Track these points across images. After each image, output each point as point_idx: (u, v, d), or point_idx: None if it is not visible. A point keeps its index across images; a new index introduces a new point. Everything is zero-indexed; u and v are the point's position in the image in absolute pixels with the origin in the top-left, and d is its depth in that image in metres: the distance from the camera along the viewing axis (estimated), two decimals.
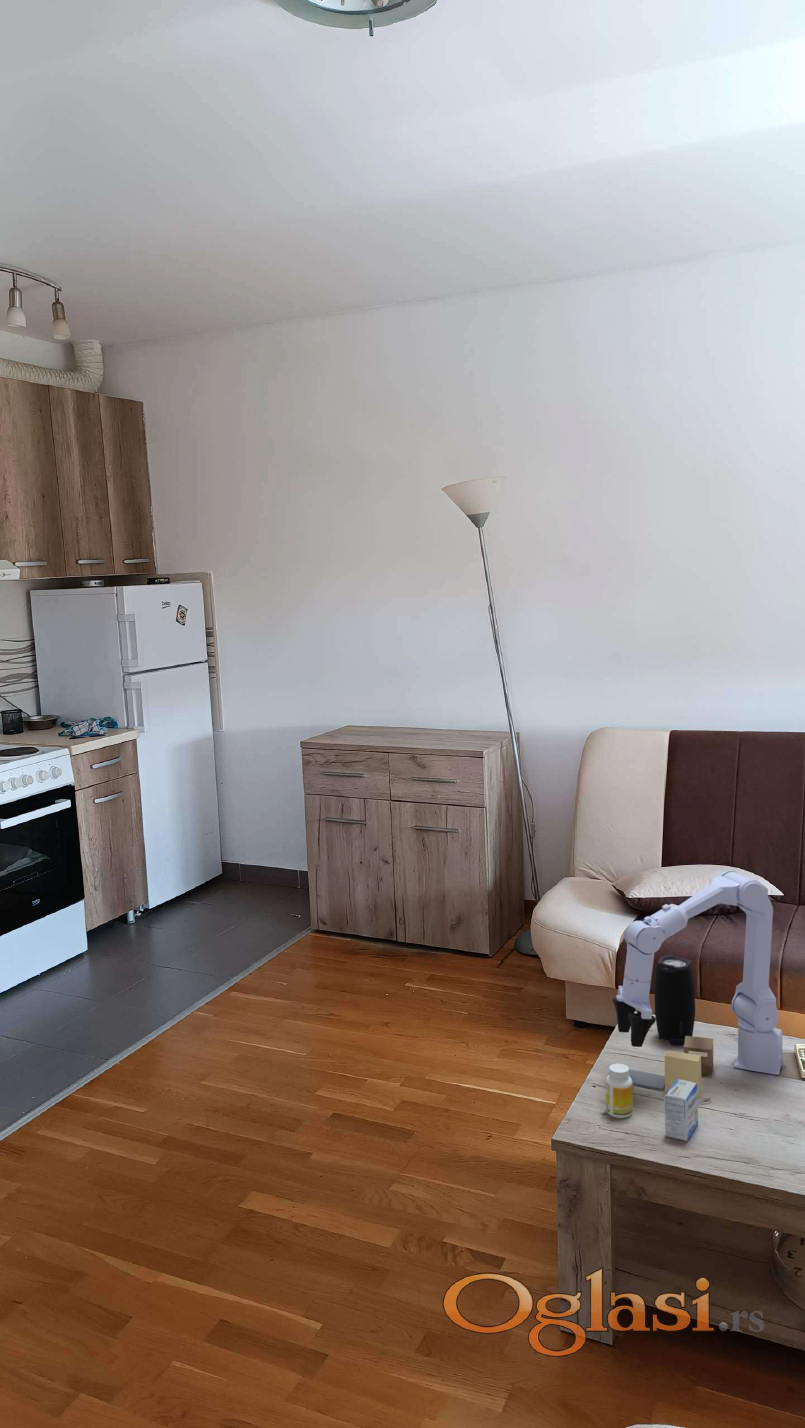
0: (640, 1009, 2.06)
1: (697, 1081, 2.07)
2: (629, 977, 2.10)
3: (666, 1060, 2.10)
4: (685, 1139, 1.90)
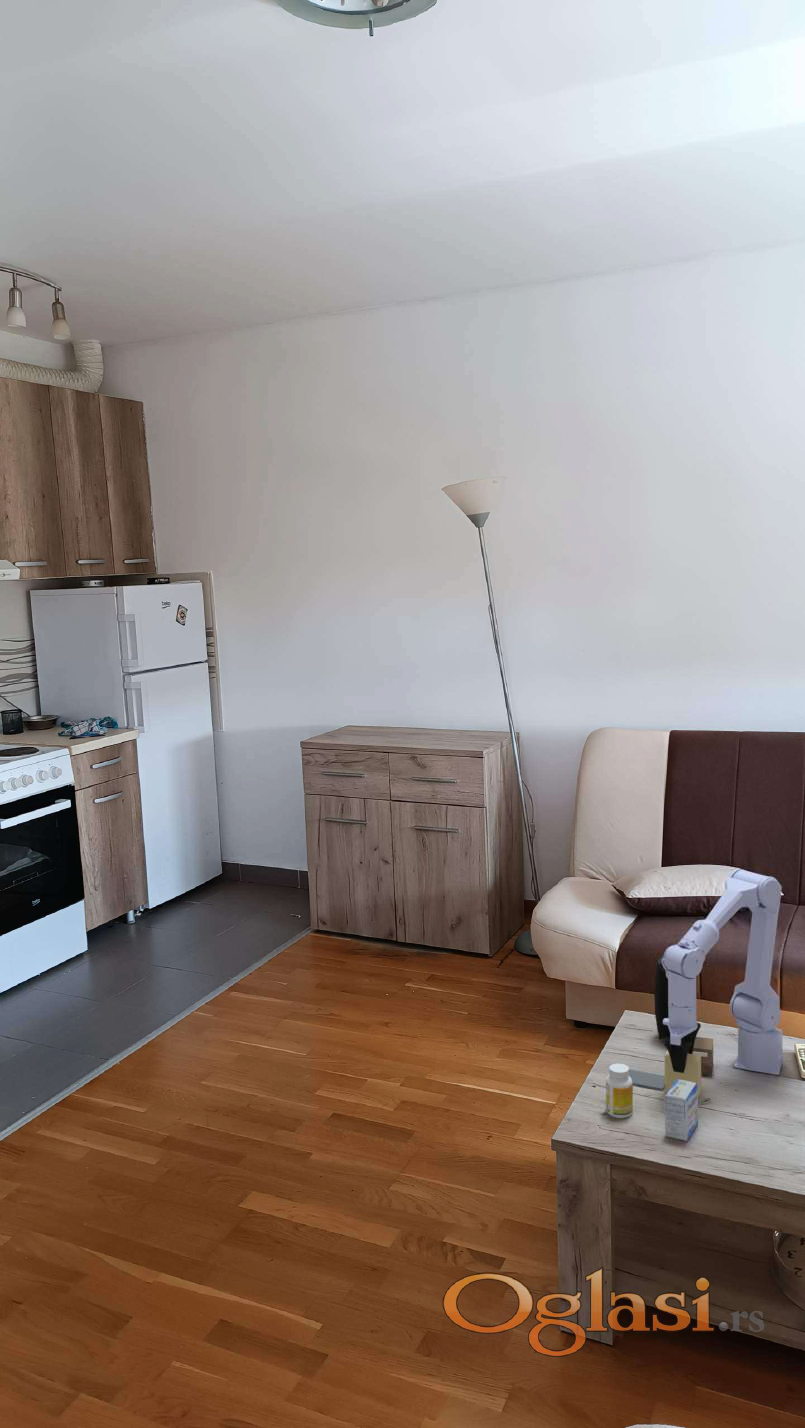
0: None
1: (697, 1081, 2.07)
2: (677, 1005, 2.06)
3: (666, 1060, 2.10)
4: (685, 1139, 1.90)
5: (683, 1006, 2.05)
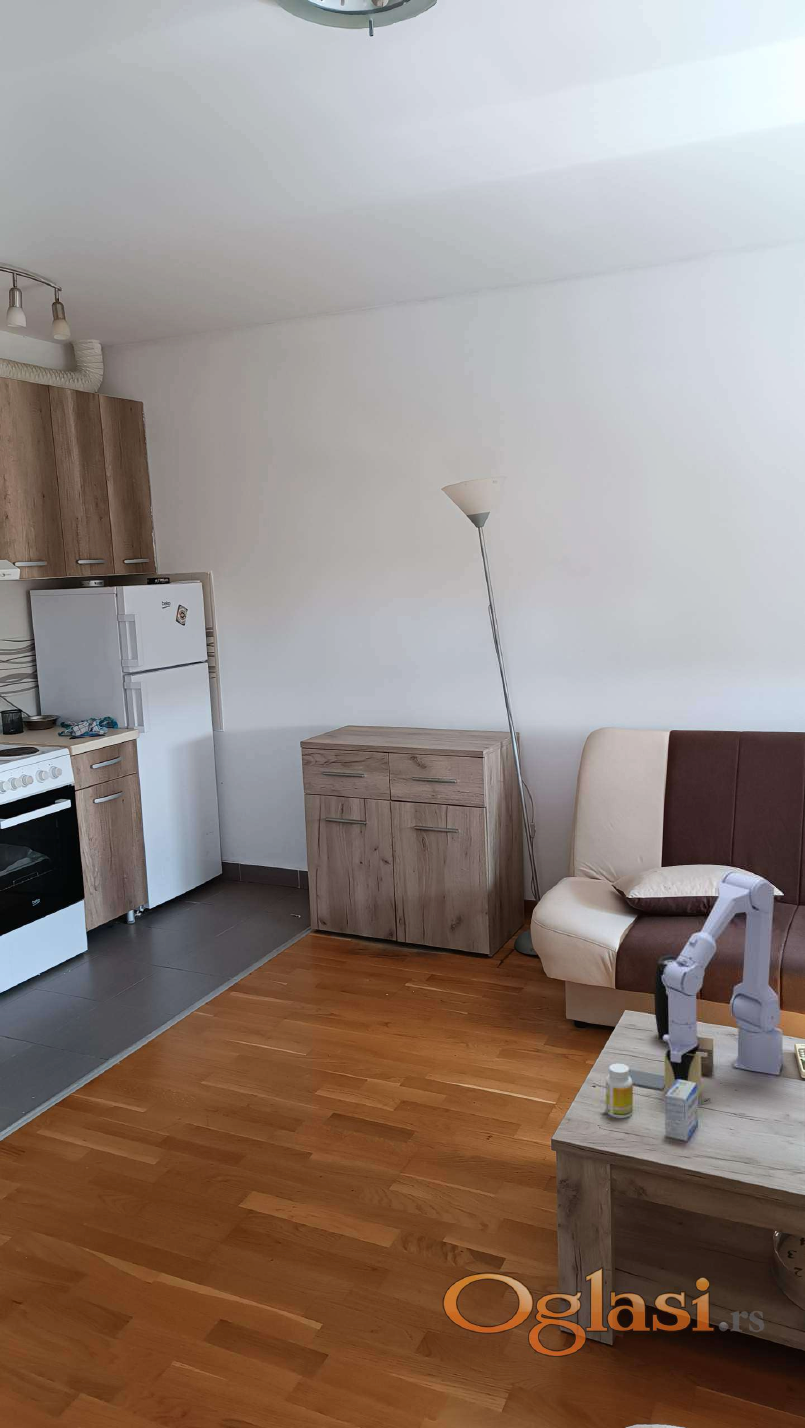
0: (671, 1051, 2.04)
1: (697, 1081, 2.07)
2: (677, 1022, 2.06)
3: (666, 1060, 2.10)
4: (685, 1139, 1.90)
5: (683, 1023, 2.06)
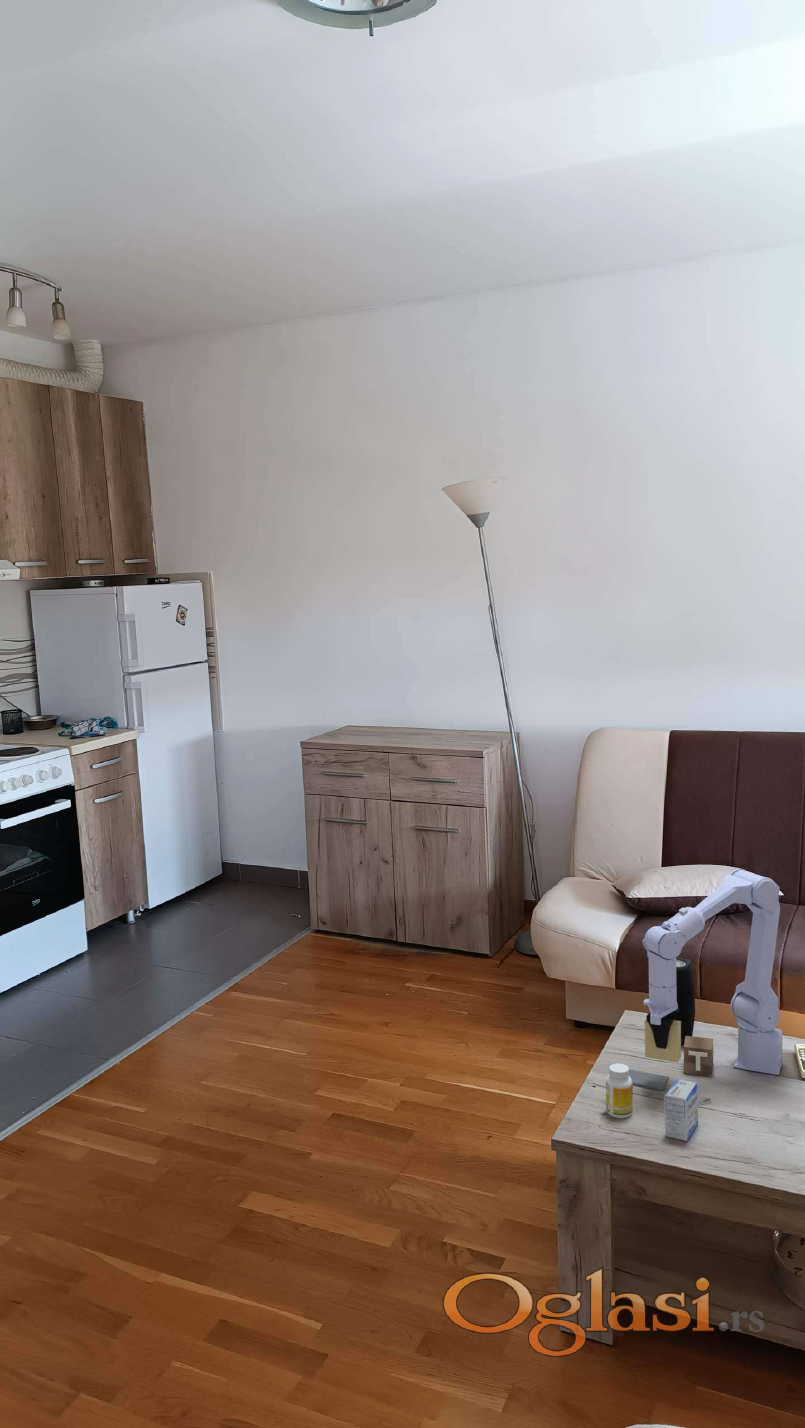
0: (651, 1014, 2.06)
1: (677, 1046, 2.09)
2: (655, 985, 2.08)
3: (646, 1025, 2.12)
4: (685, 1139, 1.90)
5: (661, 986, 2.08)
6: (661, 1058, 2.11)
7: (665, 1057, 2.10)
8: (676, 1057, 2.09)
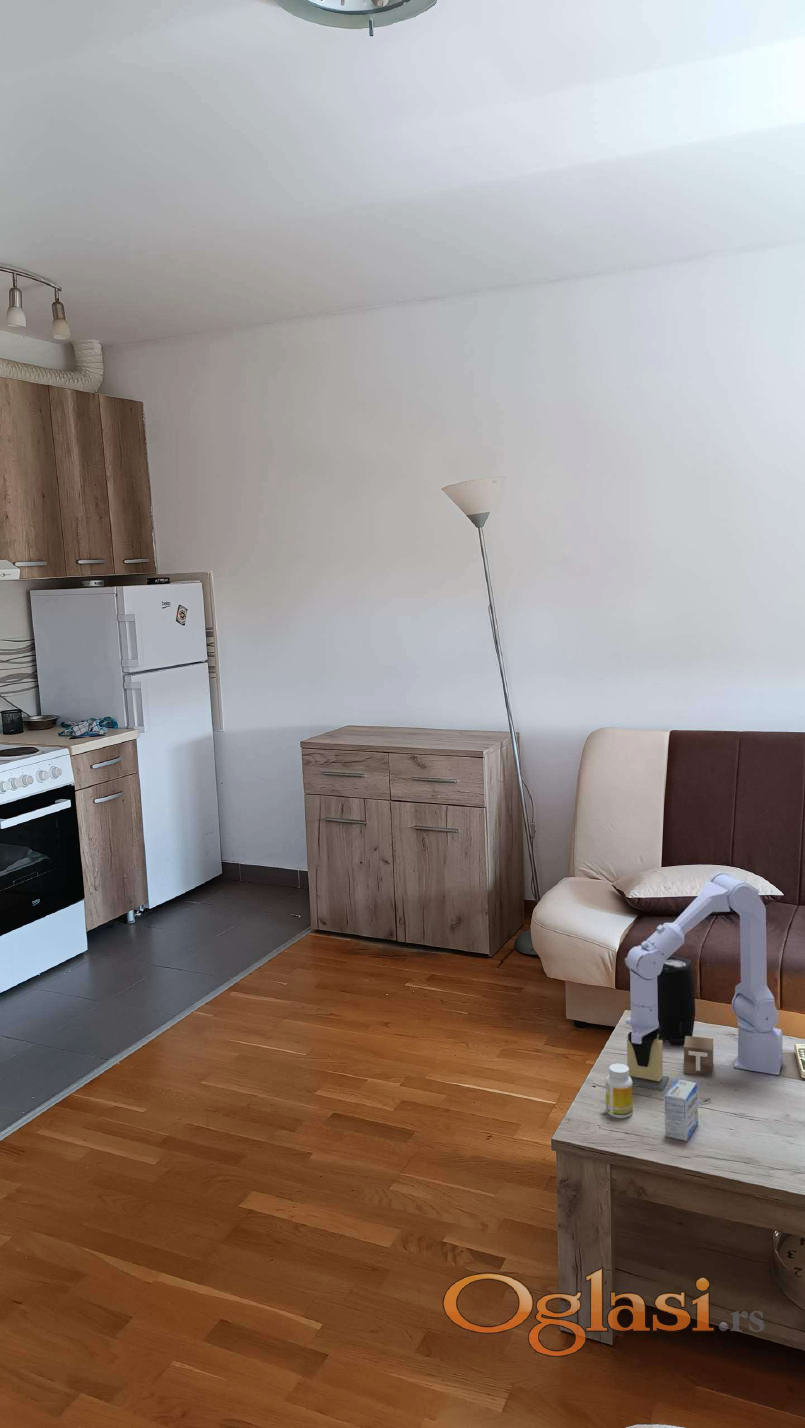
0: (632, 1033, 2.09)
1: (658, 1065, 2.12)
2: (635, 1003, 2.12)
3: (628, 1045, 2.15)
4: (685, 1139, 1.90)
5: (640, 1005, 2.11)
6: (643, 1077, 2.14)
7: (647, 1076, 2.13)
8: (658, 1076, 2.12)
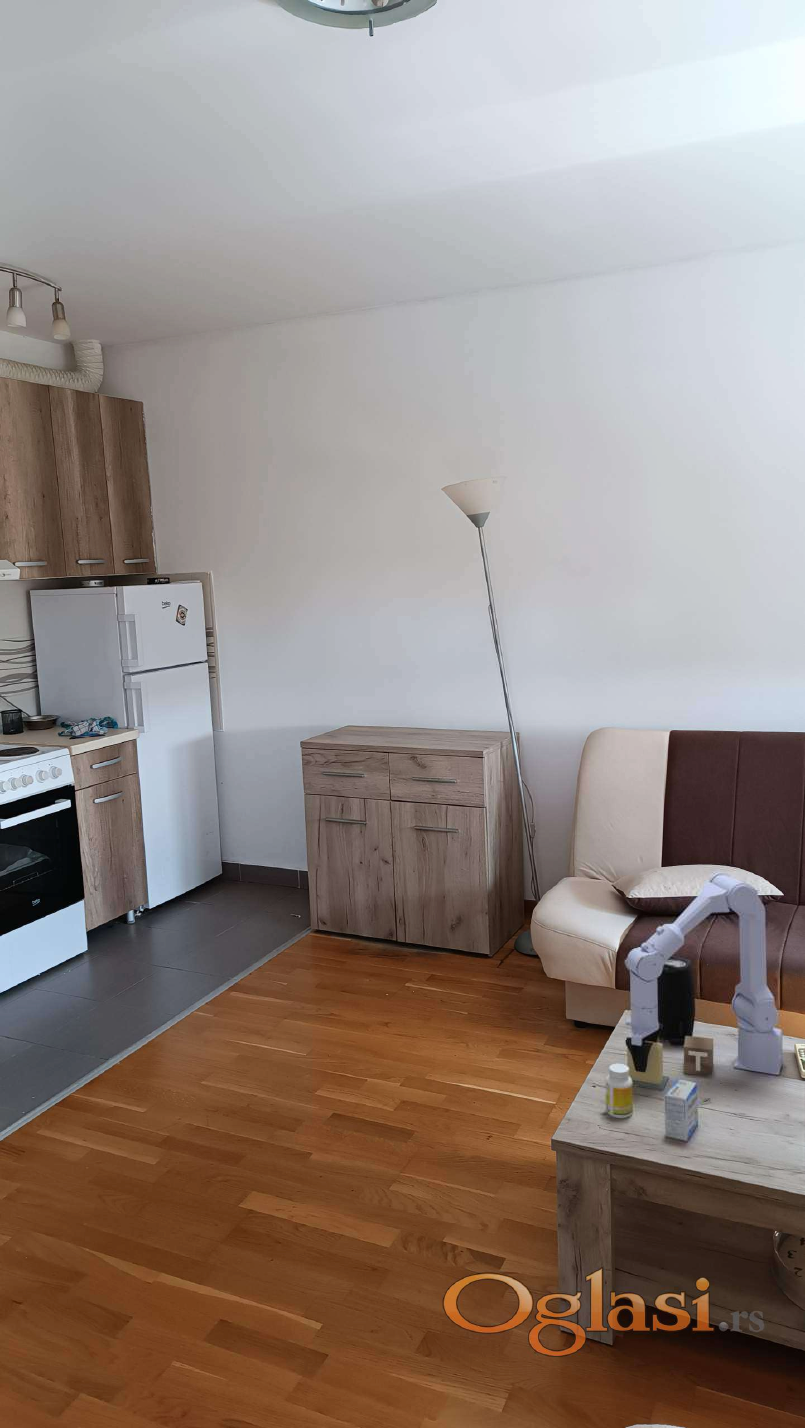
0: (632, 1035, 2.09)
1: (658, 1068, 2.12)
2: (635, 1005, 2.12)
3: None
4: (685, 1139, 1.90)
5: (640, 1007, 2.11)
6: (643, 1080, 2.14)
7: (647, 1079, 2.14)
8: (658, 1079, 2.12)
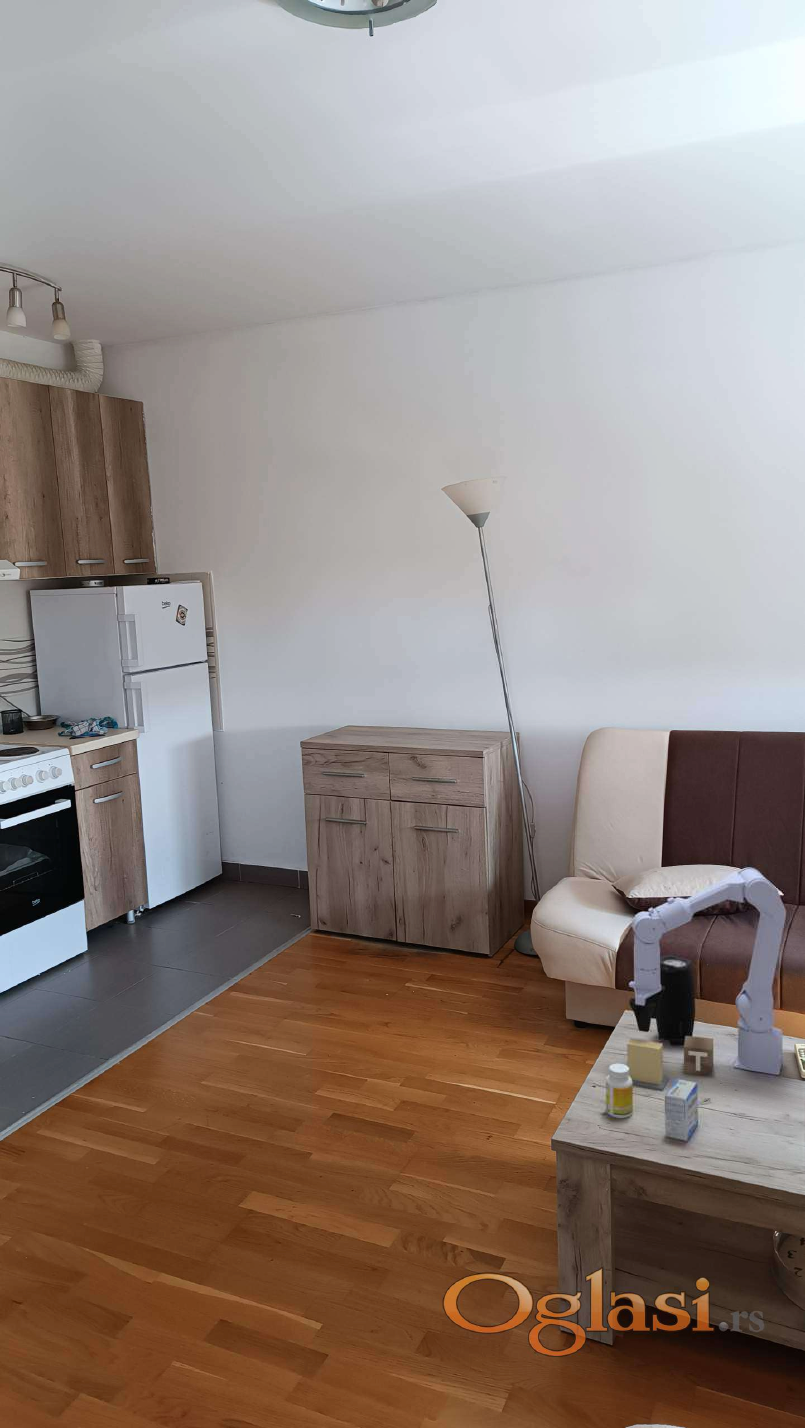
0: None
1: (658, 1068, 2.12)
2: (636, 966, 2.20)
3: (628, 1048, 2.15)
4: (685, 1139, 1.90)
5: (640, 968, 2.19)
6: (643, 1080, 2.14)
7: (647, 1079, 2.14)
8: (658, 1079, 2.12)
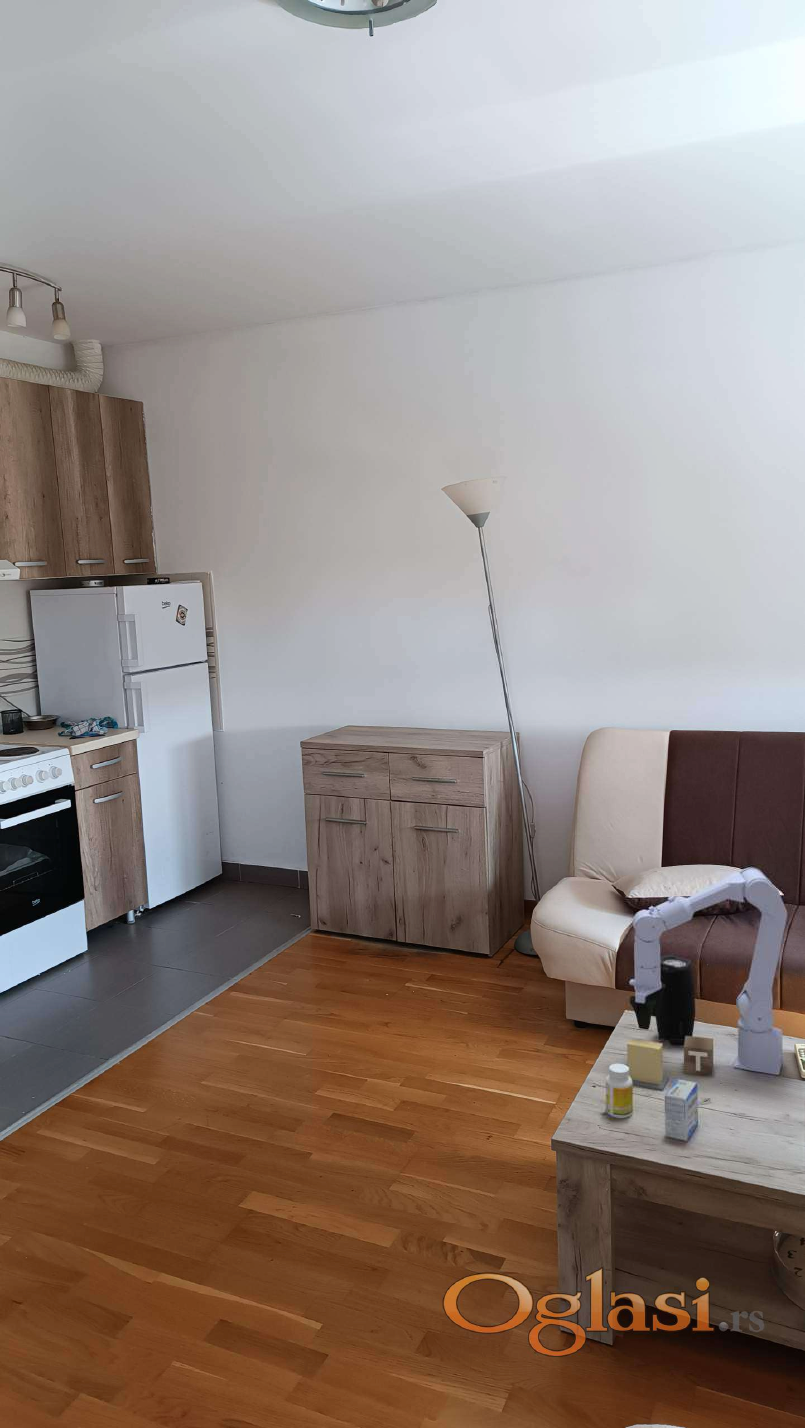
0: (636, 993, 2.18)
1: (658, 1068, 2.12)
2: (636, 964, 2.21)
3: (628, 1048, 2.15)
4: (685, 1139, 1.90)
5: (640, 966, 2.20)
6: (643, 1080, 2.14)
7: (647, 1079, 2.14)
8: (658, 1079, 2.12)
